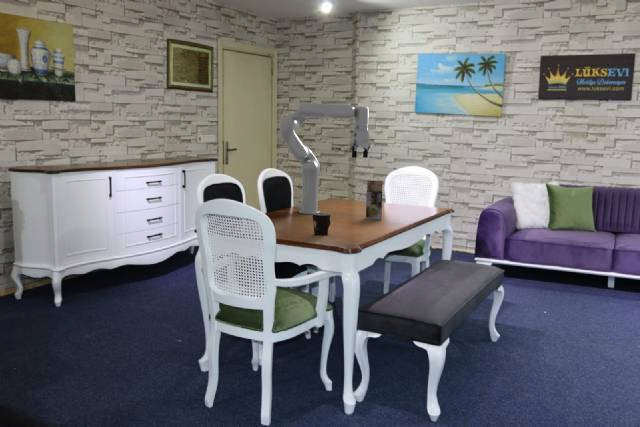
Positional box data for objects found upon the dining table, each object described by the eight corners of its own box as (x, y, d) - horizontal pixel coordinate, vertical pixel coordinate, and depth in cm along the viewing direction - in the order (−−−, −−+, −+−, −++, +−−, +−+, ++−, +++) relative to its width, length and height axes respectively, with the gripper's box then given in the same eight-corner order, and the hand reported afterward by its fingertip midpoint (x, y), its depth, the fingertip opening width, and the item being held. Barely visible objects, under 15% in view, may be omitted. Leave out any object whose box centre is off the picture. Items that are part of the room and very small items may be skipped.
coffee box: (381, 218, 343) (382, 190, 341) (381, 220, 337) (382, 191, 334) (365, 217, 344) (366, 189, 342) (365, 219, 338) (366, 191, 335)
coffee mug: (311, 232, 290) (311, 212, 289) (328, 233, 291) (329, 212, 289) (313, 237, 279) (313, 216, 277) (331, 237, 279) (332, 216, 278)
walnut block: (367, 190, 338) (367, 180, 337) (373, 189, 342) (374, 179, 341) (375, 191, 334) (375, 180, 333) (382, 190, 338) (382, 180, 337)
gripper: (356, 128, 337) (354, 158, 340) (375, 128, 349) (374, 158, 352) (346, 127, 343) (344, 157, 345) (366, 128, 355) (364, 157, 357)
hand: (359, 157), depth 348 cm, fingers open, 9 cm apart
